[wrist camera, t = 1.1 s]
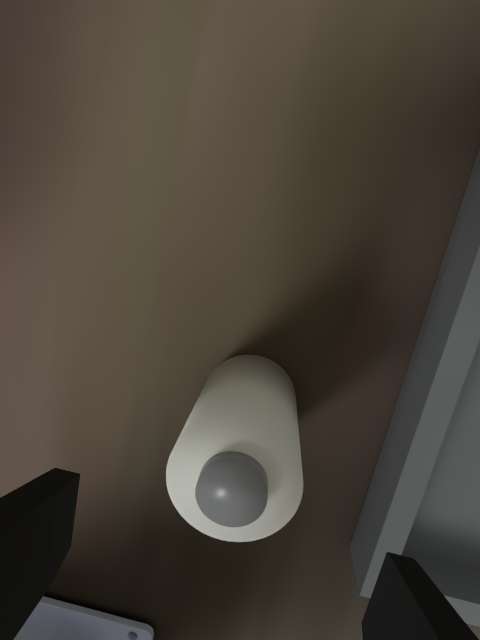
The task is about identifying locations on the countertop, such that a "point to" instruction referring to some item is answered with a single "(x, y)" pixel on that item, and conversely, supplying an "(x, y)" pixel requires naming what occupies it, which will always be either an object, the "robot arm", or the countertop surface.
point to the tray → (435, 438)
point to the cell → (239, 453)
